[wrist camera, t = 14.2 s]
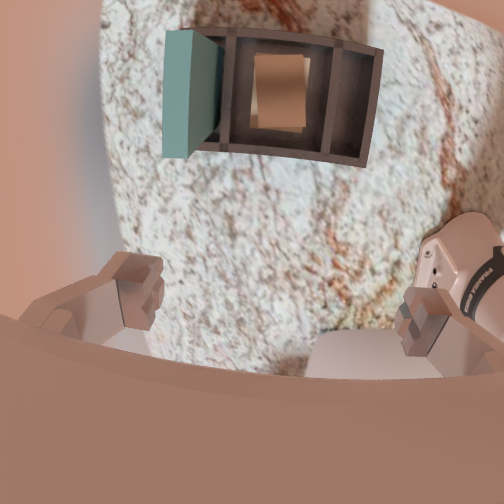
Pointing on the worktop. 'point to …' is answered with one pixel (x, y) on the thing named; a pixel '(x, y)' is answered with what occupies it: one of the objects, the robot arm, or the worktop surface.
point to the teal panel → (189, 91)
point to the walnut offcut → (280, 90)
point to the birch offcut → (254, 100)
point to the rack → (317, 98)
